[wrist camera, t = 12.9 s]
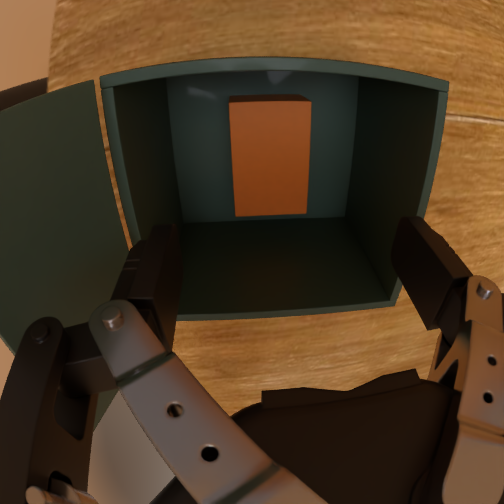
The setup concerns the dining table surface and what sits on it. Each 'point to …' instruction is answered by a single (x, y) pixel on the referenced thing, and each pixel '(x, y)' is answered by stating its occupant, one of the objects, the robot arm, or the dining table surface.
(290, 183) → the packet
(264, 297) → the dark green box
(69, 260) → the flap
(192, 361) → the dining table surface
